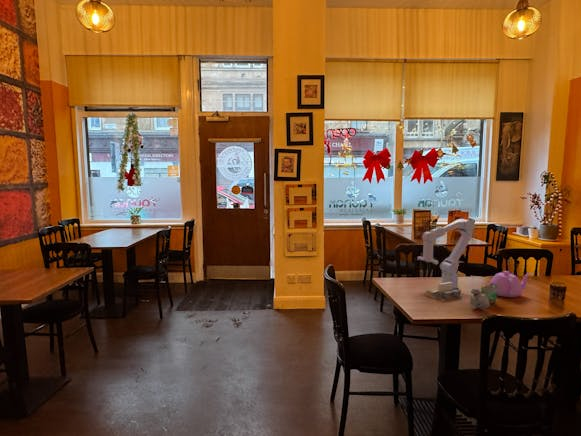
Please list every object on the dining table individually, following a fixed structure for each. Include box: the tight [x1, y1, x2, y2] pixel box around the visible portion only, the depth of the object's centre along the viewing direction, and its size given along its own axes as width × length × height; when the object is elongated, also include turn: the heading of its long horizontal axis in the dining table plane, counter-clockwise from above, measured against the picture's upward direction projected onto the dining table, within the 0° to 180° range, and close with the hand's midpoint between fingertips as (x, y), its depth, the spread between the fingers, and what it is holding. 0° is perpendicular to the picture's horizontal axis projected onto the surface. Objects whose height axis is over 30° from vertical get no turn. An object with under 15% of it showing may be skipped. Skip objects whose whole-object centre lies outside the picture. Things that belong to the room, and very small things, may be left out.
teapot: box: [488, 270, 532, 298], centre depth 223 cm, size 22×22×14 cm
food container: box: [480, 283, 499, 306], centre depth 207 cm, size 12×6×10 cm, turn 130°
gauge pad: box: [433, 282, 453, 294], centre depth 218 cm, size 14×2×7 cm, turn 117°
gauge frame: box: [424, 288, 462, 302], centre depth 220 cm, size 16×14×4 cm
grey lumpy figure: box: [469, 288, 491, 310], centre depth 196 cm, size 10×10×12 cm
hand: (427, 273), depth 233 cm, fingers open, 3 cm apart
